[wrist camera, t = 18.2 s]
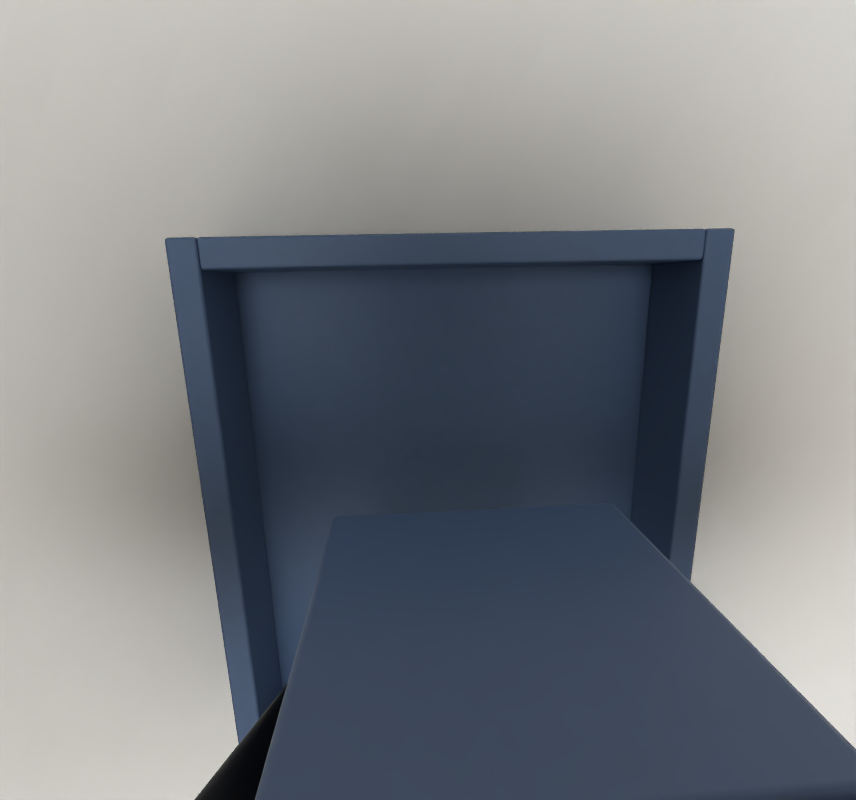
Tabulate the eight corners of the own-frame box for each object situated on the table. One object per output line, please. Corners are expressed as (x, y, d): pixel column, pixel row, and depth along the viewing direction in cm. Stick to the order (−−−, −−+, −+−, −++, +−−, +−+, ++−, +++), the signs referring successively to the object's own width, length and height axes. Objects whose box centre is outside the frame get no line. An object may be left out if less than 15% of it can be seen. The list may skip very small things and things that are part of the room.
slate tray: (269, 699, 14) (243, 782, 12) (213, 247, 11) (162, 237, 9) (626, 675, 15) (670, 750, 13) (667, 239, 12) (736, 227, 9)
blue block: (350, 743, 8) (299, 1238, 4) (333, 514, 7) (236, 847, 3) (596, 725, 9) (797, 1171, 4) (613, 500, 8) (905, 790, 3)
